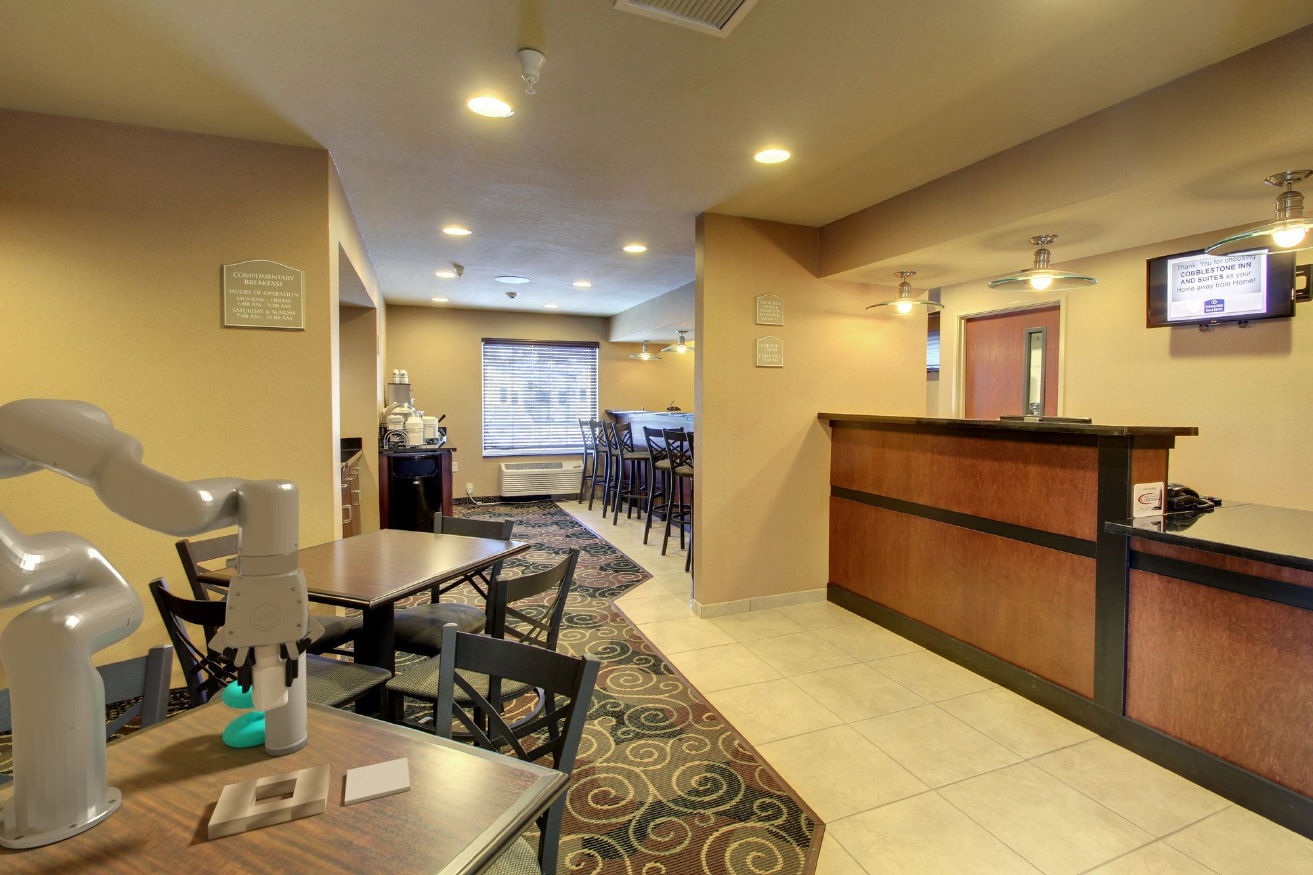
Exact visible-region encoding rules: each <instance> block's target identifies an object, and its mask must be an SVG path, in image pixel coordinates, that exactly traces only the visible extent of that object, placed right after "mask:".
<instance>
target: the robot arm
mask: <svg viewBox="0 0 1313 875" xmlns="http://www.w3.org/2000/svg"><path fill="white" fill-rule="evenodd" d="M143 457H144V447H143V444H142V442H141V441H140V440H139V439H138V438H137V437H136V436H134V435H131V434H129V433H127V432H124V431H121V430H119V429H117V428H115V426H114V423H113V420H112V418H111V416H109V414H108V413H107V412H106V411H105V410H104V409H103V408H101V407H100V406H99V405H95V404H93V403H91V402H88V401H83V400H76V399H74V400H73V399H72V400H71V399H57V398H39V397H38V398H32V397H31V398H22V399H17V400H12V401H10V402H7V403H4V404H3V405H1V406H0V480H7V479H11V478H18V477H22V476H26V475H29V474H33V473H37V472H40V471H43V470H48V471H51V472H53V473H55V474H57V475H60V476H63V477H65V478H68V479H70V480H72V481H74V482H76V483H80V484H81V485H84V486H86V487H89V488H91V489H93V491H94V493H95V494H94V495H96V497H97V498H98V499H99V501H101V503H103V505H104V506H105V507H106V508H107V509H109V511H111V512H112V513H113V514H115V515H117V516H118V517H120V518H122V519H124V520H126V521H129V522H130V523H131V522H132V523H134V524H136V525H139V526H141V527H144V528H146V529H149V530H151V531H153V532H156V533H158V534H159V533H160V534H163V535H166V536H170V537H174V538H175V537H176V538H193V537H195V536H199V535H203V534H204V535H205V534H206V533H210V532H213V531H217V530H221V529H226V528H229V527H234V526H237V527H238V529H237V532H238V534H237V536H238V537H237V547H238V548H237V555H236V556H235V557H232V558H226V559H225V568H226V569H232V570H233V569H234V570H235V571H236V574H233V576H231V578H230V581H229V585H228V591H227V598H226V606H225V619H224V625H223V626H222V627H221V628H220V629H219V630H218V632H217V633H216V634H215V635H214V636H213V637H212V639H211V640H210V641H209V642H208V645H207V647H208V648H209V649H211V650H212V651H215V652H217V653H219V654H221V655H223V657H224V658H226V659H228V660H229V661H230V662H232V663H233V665H234V666H235V667H237V671H236V672H237V675H236V676H237V677H236V678H237V679H236V680H237V686H242V694H245V693H247V692H249V689H250V687H251V685H252V682H251V666H253V660H252V659H251V658H250V656H249V653H250V650H251V648H254V647H255V646H263V645H272V644H280V643H285V644H286V647H287V650H288V653H289V654H288V657H287V660H286V687H291V686H292V683H293V680H294V679H296V678H298V664H299V656H300V655H301V654H302V653H303V652H304V651H305V650H306V651H307V649H308V648H309V647H310V646H311V645H312V644H313V643H315V642H316V641H317V640H318V639H320V638H321V637H322V636H323V635H324V634H325V631H326V629H325V627H324V626H323V625H322V624H321V623H320V622H319V621H318V620H317V619H316V618H315V616H313V614H311V613H310V610H309V609H310V608H309V593H308V585H307V580H306V575H305V570H304V569H303V568H301V567H299V566H300V565H299V564H300V562H299V560H300V558H299V557H300V554H299V553H300V552H299V550H300V549H299V548H300V541H299V540H300V527H299V526H300V489H299V485H298V484H297V483H296V482H295V481H293V480H291V479H284V478H283V479H282V478H281V479H279V478H277V479H276V478H274V479H273V478H272V479H271V478H269V479H248V478H241V477H240V478H239V477H232V476H231V477H230V476H219V477H213V478H202V479H195V480H190V481H185V480H181V479H178V478H175V477H173V476H170V475H168V474H165V473H163V472H161V471H158V470H156V469H153V468H151V467H149V466H147V465H146V464H144V463H142V460H143ZM47 597H49V598H51V600H48V601H45V602H42V603H38V604H37V605H34V606H31V607H29V608H27V609H26V610H25V609H24V611H22V612H21V613H19V614H17V615H16V616H15V617H13V618H12V619H11V620H10V621H8V623H7V624H6V625H5V626H4V628H3V629H2V632H1V633H0V660H1V664H2V667H3V671H4V673H5V676H6V680H7V685H8V691H9V699H10V717H11V718H10V720H11V721H10V722H11V723H10V724H11V741H12V748H11V749H12V778H13V780H12V781H13V782H12V783H13V795H11V796H10V797H9V798H8V799H5V800H0V823H1V824H2V825H1V827H0V844H1V845H2V846H1V845H0V846H1V847H4V848H7V849H15V850H16V849H28V848H35V847H37V848H38V847H41V846H44V845H45V846H46V845H49V844H53V843H57V842H59V841H62V840H66V839H68V838H71V837H73V836H76V835H78V834H81V833H83V832H85V831H87V830H88V829H90V828H91V829H92V827H94V826H96V825H98V824H99V823H101V822H103V821H104V820H106V819H107V818H108V817H110V816H111V815H112V814H113V813H114V812H116V811H117V809H118V808H120V805H121V804H122V792H121V790H120V789H119V788H118V787H115V786H111V785H108V770H107V769H108V766H107V732H106V731H107V730H106V728H107V727H106V726H107V723H106V720H107V719H106V693H105V684H104V680H103V678H102V676H101V674H100V672H99V670H97V668H96V667H95V665H94V663H93V660H92V656H93V655H95V654H97V653H99V652H101V651H103V650H105V649H107V648H109V647H111V646H114V645H115V644H118V643H120V642H122V641H124V640H126V639H127V638H129V637H130V636H132V635H133V634H134V633H136V631H137V630H138V629H139V628H140V626H141V625H142V623H143V621H144V616H145V607H144V602H143V600H142V598H141V597H140V595H139V592H137V591H136V589H135V588H134V586H133V585H132V584H131V583H130V582H129V581H128V580H127V579H126V577H124V575H123V574H122V573H121V572H120V571H119V569H118V568H117V567H116V566H115V564H113V563H112V562H111V561H110V560H109V558H108V557H107V556H106V555H105V554H104V553H103V552H102V550H100V548H98V546H97V545H95V544H94V543H93V542H92V541H91V540H89V539H87V538H85V537H84V536H83V535H80V534H78V533H74V532H71V531H63V530H61V531H60V530H57V531H56V530H55V531H53V530H52V531H47V532H46V531H45V532H40V533H35V534H26V533H24V532H22V531H20V530H19V529H18V528H17V527H16V526H15V525H13V524H12V522H11V521H10V520H8V518H7V517H6V515H5V514H4V513H3V512H2V511H1V510H0V610H5V609H9V608H10V609H11V608H14V607H18V606H23V605H24V604H28V603H32V602H34V601H37V600H41V599H44V598H47ZM308 629H309V630H310V631H311V632H310V633H309V634H307V633H308ZM306 634H307V635H306ZM304 636H305V637H304ZM303 637H304V638H303ZM302 638H303V639H302ZM300 639H302V640H301V641H300V642H299V640H300Z"/></svg>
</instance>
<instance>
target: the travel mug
mask: <svg viewBox="0 0 1313 875" xmlns="http://www.w3.org/2000/svg"><path fill="white" fill-rule="evenodd" d="M305 636H306V635H305ZM305 636H304V637H305ZM304 637H303V638H304ZM303 638H302V639H303ZM302 639H300V640H299V642H300V641H301V640H302ZM306 652H307V649H306V650H305V651H304V652H303V653H302V654H301V655H300V656H299V664H298V678H296V679H294V680H293V683H292V686H291V687H287V690H288V702H287V704H285V705H284V706H280V707H277V708H274V709H270V710H267V711H265V743H264V746H265V747H264V748H265V750H264V751H265V753H266V754H267V755H270V756H275V757H278V756H279V757H280V756H286V755H290V754H293V753H295V752H297V751H299V750H301V749H303V747H305V746H306V744H308V743H307V742H308V716H307V715H308V713H307V711H308V709H307V704H308V703H307V702H308V701H307V654H306ZM288 654H289V653H288V650H287V647H286V644H285V643H280V659H283V660H284V662H285V664H286V660H287V657H288Z"/></svg>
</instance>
